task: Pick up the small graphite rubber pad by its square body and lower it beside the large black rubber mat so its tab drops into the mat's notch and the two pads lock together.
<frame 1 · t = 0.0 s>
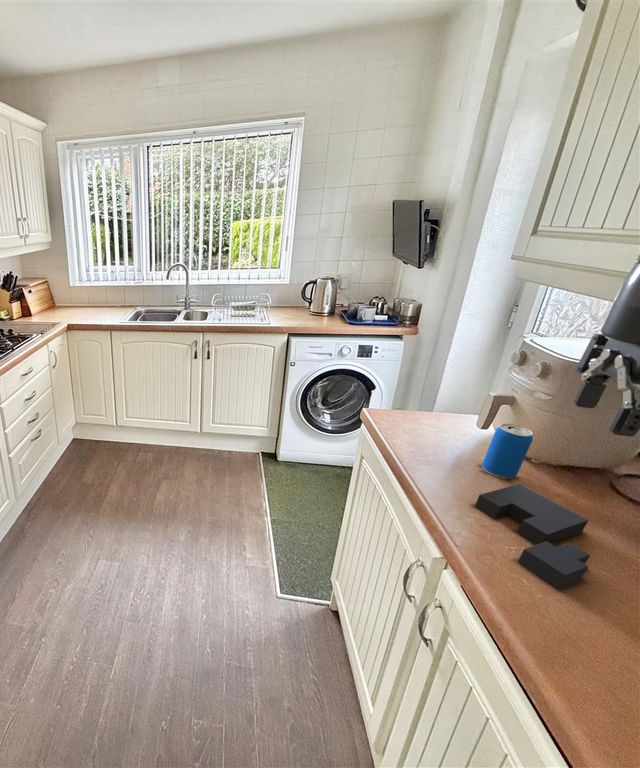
hand: (600, 419, 55), 33 cm above the worktop, tool pointing down, fingers open, 8 cm apart
beverage can: (497, 472, 98), on the worktop
base pad: (525, 519, 83), on the worktop
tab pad: (548, 570, 72), on the worktop
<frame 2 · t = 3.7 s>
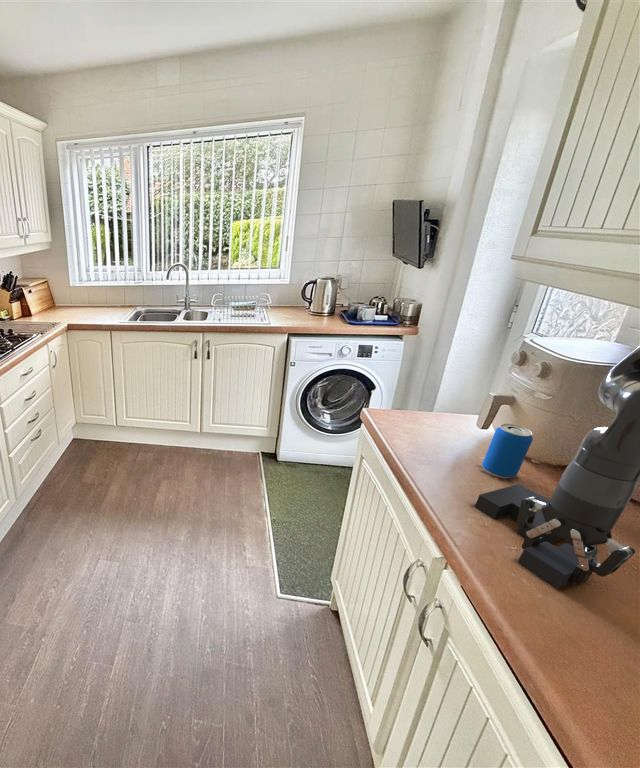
hand: (550, 566, 71), 1 cm above the worktop, tool pointing down, fingers closed on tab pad, 6 cm apart
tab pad: (548, 570, 72), on the worktop, touching gripper
everything else where it was.
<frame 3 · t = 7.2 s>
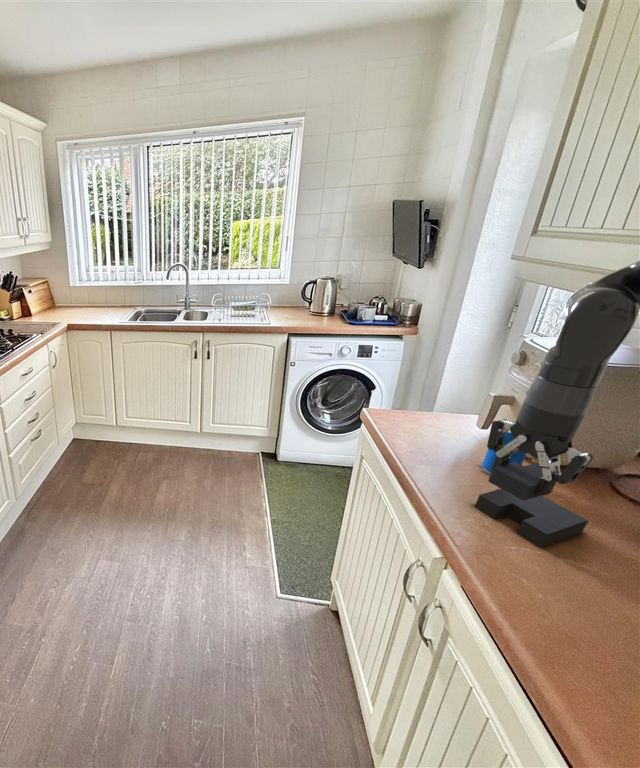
hand: (517, 483, 75), 12 cm above the worktop, tool pointing down, fingers closed on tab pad, 6 cm apart
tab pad: (516, 487, 76), point 11 cm above the worktop, touching gripper
everything else where it was.
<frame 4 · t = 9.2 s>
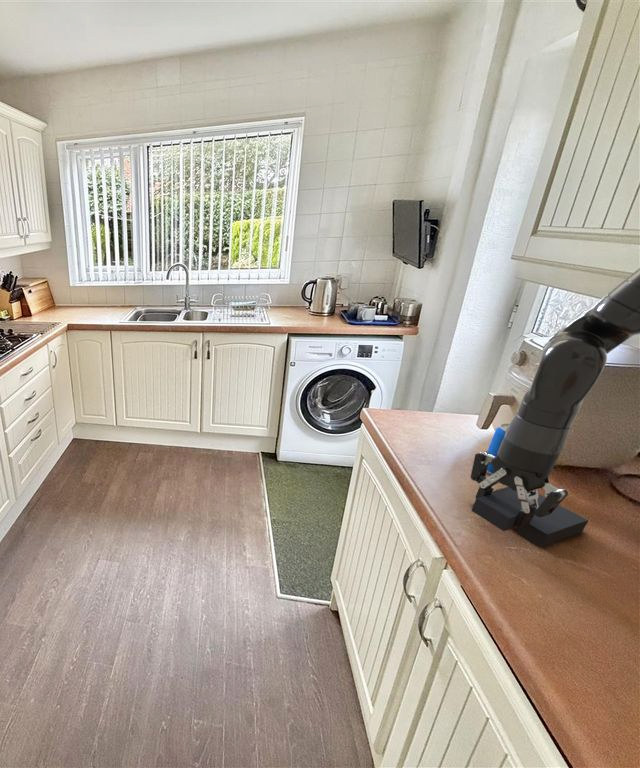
hand: (499, 513, 79), 4 cm above the worktop, tool pointing down, fingers closed on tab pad, 6 cm apart
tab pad: (497, 517, 80), point 3 cm above the worktop, touching gripper
everything else where it was.
when the fingers open (1 cm above the worktop, at t = 10.7 s): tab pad stays where it is, on the worktop.
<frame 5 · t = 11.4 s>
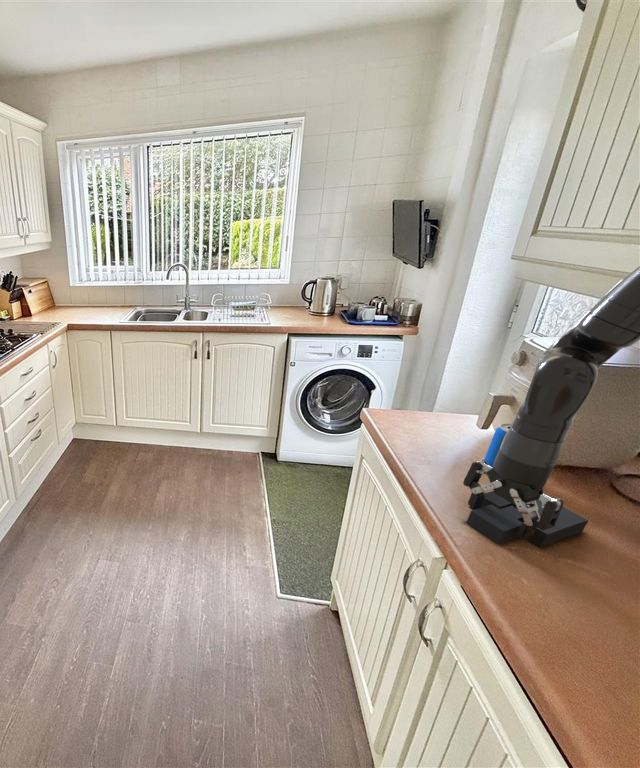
hand: (496, 522, 80), 2 cm above the worktop, tool pointing down, fingers open, 8 cm apart
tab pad: (492, 529, 81), on the worktop
everything else where it was.
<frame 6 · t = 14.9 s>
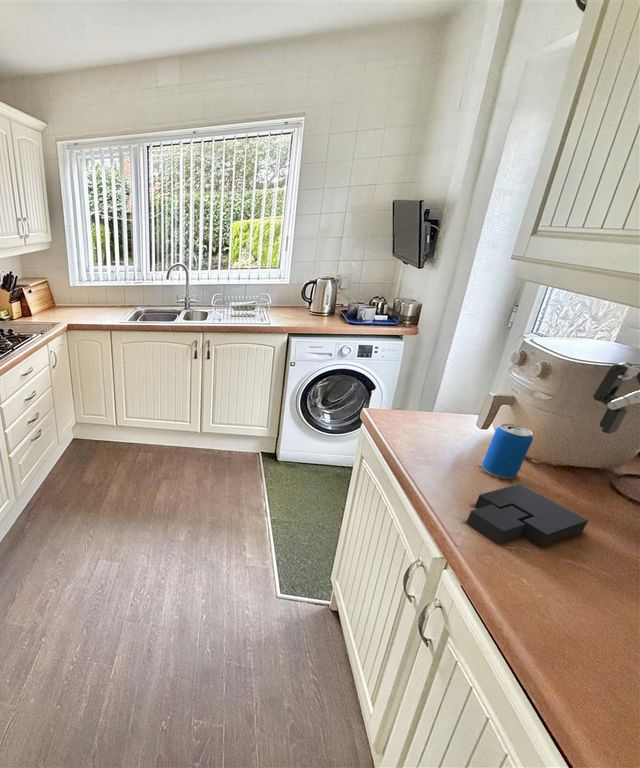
nothing on the worktop moved.
at the end: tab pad 0.0 cm from the target spot on the worktop beside the base pad, on the worktop; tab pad tilted 0°; the gripper is holding nothing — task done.
